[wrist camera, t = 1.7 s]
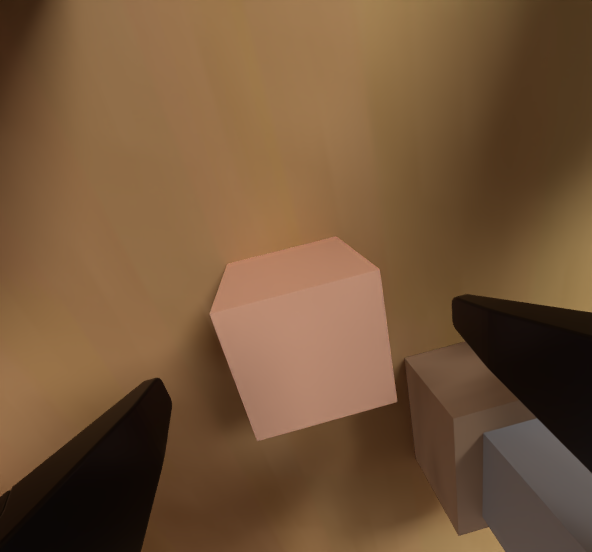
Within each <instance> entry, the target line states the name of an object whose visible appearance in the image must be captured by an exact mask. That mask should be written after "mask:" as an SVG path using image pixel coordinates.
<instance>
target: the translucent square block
mask: <svg viewBox="0 0 592 552" xmlns="http://www.w3.org/2000/svg"><path fill="white" fill-rule="evenodd" d="M405 367H406V376H407V385H408V394H409V403H410V412H411V421H412V430H413V439H414V448H415V457H416V460H417V462H418V464H419V465H420V467H421V469H422V471H423V473H424V474H425V476H426V478H427V480H428V482H429V483H430V485H431V487H432V489H433V491H434V492H435V494H436V496H437V498H438V500H439V501H440V503H441V505H442V507H443V509H444V510H445V512H446V514H447V516H448V518H449V519H450V521H451V523H452V525H453V527H454V528H455V530H456V532H457V534H458V536H460V535H463V534H467V533H470V532H473V531H477V530H480V529H483V528H487V527H489V526H488V524H487V523H486V521H485V520H484V518H483V517H482V507H483V433H485V432H489V431H492V430H496V429H500V428H503V427H507V426H511V425H514V424H518V423H521V422H525V421H529V420H532V419H536V417H535V416H534V415H533V414H532V413H531V412H530V411H529V410H528V409H527V408H526V407H525V406H524V405H523V404H522V403H521V402H520V401H519V400H518V399H517V398H516V397H515V396H514V395H513V394H512V393H511V391H510V390H509V389H508V388H507V387H506V386H505V385H504V384H503V383H502V382H501V381H500V380H499V379H498V378H497V377H496V376H495V375H494V374H493V373H492V372H491V371H490V370H489V369H488V368H487V367H486V366H485V364H484V363H483V362H482V361H481V360H480V359H479V357H478V356H477V355H476V354H475V352H474V351H473V350H472V349H471V347H470V346H469V345H468V344H467V342H466V341H465V342H461V343H458V344H454V345H450V346H446V347H443V348H439V349H435V350H432V351H428V352H424V353H421V354H417V355H413V356H409V357H406V358H405Z"/></svg>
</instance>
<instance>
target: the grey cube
mask: <svg viewBox="0 0 592 552" xmlns="http://www.w3.org/2000/svg"><path fill="white" fill-rule="evenodd" d="M482 517H483V518H484V520H485V521H486V523H487V524H488V526H489V527H490V529H491V531H492V532H493V534H494V535H495V537H496V538H497V540H498V541H499V543H500V544H501V546H502V547H503V549H504V550H505V552H592V473H591V472H590V471H589V470H588V469H587V468H586V467H585V466H584V465H583V464H582V463H581V462H580V461H579V460H578V459H577V458H576V457H575V456H574V455H573V454H572V453H571V452H570V451H569V450H568V449H567V448H566V447H565V446H564V445H563V444H562V443H561V442H560V441H559V440H558V439H557V438H556V437H555V436H554V435H553V434H552V433H551V432H550V431H549V430H548V429H547V428H546V427H545V426H544V425H543V424H542V423H541V422H540V421H539V420H538V419H537V418H536V419H532V420H529V421H525V422H521V423H518V424H514V425H511V426H507V427H503V428H500V429H496V430H492V431H489V432H485V433H483V507H482Z"/></svg>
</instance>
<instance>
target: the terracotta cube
mask: <svg viewBox="0 0 592 552" xmlns="http://www.w3.org/2000/svg"><path fill="white" fill-rule="evenodd" d="M210 317H211V319H212V322H213V325H214V327H215V330H216V333H217V335H218V338H219V341H220V343H221V346H222V349H223V351H224V354H225V357H226V359H227V362H228V365H229V367H230V370H231V373H232V375H233V378H234V381H235V383H236V386H237V389H238V391H239V394H240V397H241V399H242V402H243V405H244V407H245V410H246V413H247V415H248V418H249V421H250V423H251V426H252V429H253V431H254V434H255V437H256V439H257V441H260V440H264V439H267V438H271V437H274V436H278V435H282V434H285V433H289V432H292V431H296V430H299V429H303V428H306V427H310V426H314V425H317V424H321V423H324V422H328V421H331V420H335V419H338V418H342V417H346V416H349V415H353V414H356V413H360V412H363V411H367V410H370V409H374V408H378V407H381V406H385V405H388V404H392V403H395V402H397V396H396V388H395V381H394V373H393V365H392V358H391V350H390V343H389V335H388V328H387V320H386V313H385V305H384V298H383V290H382V283H381V275H380V269H379V268H377V267H376V266H375V265H373V264H372V263H371V262H369V261H368V260H367V259H365V258H364V257H363V256H362V255H360V254H359V253H358V252H356V251H355V250H354V249H352V248H351V247H350V246H349V245H347V244H346V243H345V242H343V241H342V240H341V239H339V238H338V237H337V236H335V237H331V238H327V239H323V240H319V241H315V242H311V243H308V244H304V245H300V246H296V247H292V248H288V249H284V250H280V251H276V252H272V253H268V254H264V255H260V256H256V257H252V258H249V259H245V260H241V261H237V262H233V263H229V264H227V266H226V269H225V271H224V274H223V277H222V280H221V283H220V286H219V288H218V291H217V294H216V297H215V300H214V302H213V305H212V308H211V311H210Z"/></svg>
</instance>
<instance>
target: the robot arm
mask: <svg viewBox="0 0 592 552" xmlns="http://www.w3.org/2000/svg"><path fill="white" fill-rule="evenodd" d="M452 319H453V325H454V327H455V329H456V330H457V331H458V333H459V334H460V335H461V336H462V338H463V339H464V340H465V341H466V342H467V344H468V345H469V346H470V347H471V349H472V350H473V351H474V352H475V354H476V355H477V356H478V357H479V359H480V360H481V361H482V362H483V363H484V364H485V366H486V367H487V368H488V369H489V370H490V371H491V372H492V373H493V374H494V375H495V376H496V377H497V378H498V379H499V380H500V381H501V382H502V383H503V384H504V385H505V386H506V387H507V388H508V389H509V390H510V391H511V393H512V394H513V395H514V396H515V397H516V398H517V399H518V400H519V401H520V402H521V403H522V404H523V405H524V406H525V407H526V408H527V409H528V410H529V411H530V412H531V413H532V414H533V415H534V416H535V417H536V418H537V419H538V420H539V421H540V422H541V423H542V424H543V425H544V426H545V427H546V428H547V429H548V430H549V431H550V432H551V433H552V434H553V435H554V436H555V437H556V438H557V439H558V440H559V441H560V442H561V443H562V444H563V445H564V446H565V447H566V448H567V449H568V450H569V451H570V452H571V453H572V454H573V455H574V456H575V457H576V458H577V459H578V460H579V461H580V462H581V463H582V464H583V465H584V466H585V467H586V468H587V469H588V470H589V471H590V472H591V473H592V313H591V312H585V311H578V310H571V309H564V308H558V307H551V306H544V305H537V304H531V303H524V302H517V301H510V300H504V299H497V298H490V297H483V296H477V295H470V294H465V295H461V296H457V297H454V298H453V300H452ZM171 410H172V401H171V398H170V396H169V394H168V392H167V390H166V388H165V386H164V384H163V382H162V380H161V379H160V378H154V379H150V380H146V381H144V382H142V383H141V384H140V385H139V386H137V387H136V388H135V389H134V390H132V391H131V392H130V393H129V394H128V395H126V396H125V397H124V398H123V399H121V400H120V401H119V402H118V403H116V404H115V405H114V406H113V407H111V408H110V409H109V410H108V411H106V412H105V413H104V414H103V415H101V416H100V417H99V418H98V419H96V420H95V421H94V422H93V423H91V424H90V425H89V426H88V427H86V428H85V429H84V430H83V431H82V432H80V433H79V434H78V435H77V436H75V437H74V438H73V439H72V440H70V441H69V442H68V443H67V444H65V445H64V446H63V447H62V448H60V449H59V450H58V451H57V452H55V453H54V454H53V455H52V456H50V457H49V458H48V459H47V460H45V461H44V462H43V463H42V464H40V465H39V466H38V467H37V468H36V469H34V470H33V471H32V472H31V473H29V474H28V475H27V476H26V477H24V478H23V479H22V480H21V481H19V482H18V483H17V484H16V485H14V486H13V487H12V489H11V490H9V491H7V492H6V493H4V494H3V495H2V496H1V497H0V552H141V549H142V545H143V541H144V537H145V533H146V529H147V525H148V521H149V517H150V513H151V509H152V505H153V501H154V497H155V494H156V490H157V486H158V482H159V478H160V474H161V470H162V466H163V461H164V456H165V451H166V444H167V437H168V430H169V424H170V417H171Z"/></svg>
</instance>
